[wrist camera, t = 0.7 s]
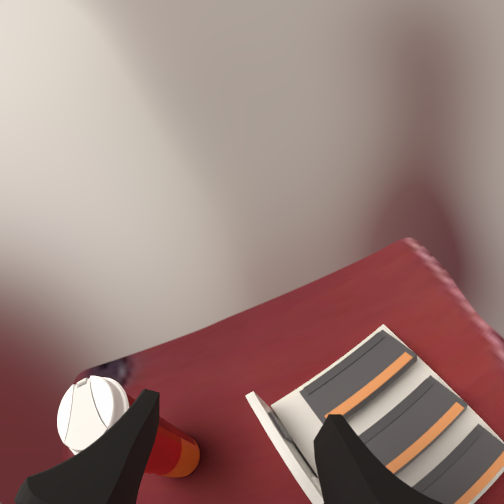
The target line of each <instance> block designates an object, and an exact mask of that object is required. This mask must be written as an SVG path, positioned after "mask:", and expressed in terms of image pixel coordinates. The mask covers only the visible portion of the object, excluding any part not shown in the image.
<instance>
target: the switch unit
mask: <svg viewBox="0 0 504 504" xmlns="http://www.w3.org/2000/svg"><path fill="white" fill-rule="evenodd" d="M381 330H384V331H385V332H387V333H388V334H389V335H391V336H392V337H394V338H395V339H396V340H398V341H399V342H400V343H402V344H403V345H405V344H404V343H403V342H402V341H401V340H400V339H399V338H398V337H397V336H396V335H395V334H394V333H392V332H391V331H390V330H389V329H388V328H387V327H386V326H385V325H384V324H383V325H382V326H381V327H379V328H378V329H377V330H376V331H375V332H373V333H372V334H371V335H370V336H368V337H367V338H366V339H365V340H363V341H362V342H361V343H360V344H358V345H357V346H356V347H355V348H353V349H352V350H351V351H349V352H348V353H347V354H345V355H344V356H343V357H341V358H340V359H339V360H337V361H336V362H335V363H333V364H332V365H331V366H329V367H328V368H326V369H325V370H324V371H322V372H321V373H319V374H318V375H317V376H315V377H314V378H312V379H311V380H309V381H308V382H306V383H305V384H303V385H302V386H300V387H299V388H297V389H296V390H294V391H293V392H291V393H290V394H288V395H287V396H285V397H283V398H282V399H280V400H279V401H277V402H275V403H274V404H272V405H271V407H272V408H273V410H274V411H275V412H274V411H273V410H272V409H271V408H270V407H269V406H268V405H267V404H266V403H265V402H264V401H263V400H262V399H261V398H260V397H259V396H258V395H257V394H256V393H255V392H254V391H253V392H251V393H249V394H248V395H246V398H247V400H248V402H249V403H250V405H251V407H252V409H253V410H254V412H255V414H256V416H257V417H258V419H259V421H260V422H261V424H262V426H263V427H264V429H265V431H266V432H267V434H268V436H269V437H270V439H271V441H272V442H273V444H274V446H275V447H276V449H277V450H278V452H279V454H280V455H281V457H282V458H283V460H284V462H285V463H286V465H287V466H288V468H289V469H290V471H291V472H292V474H293V476H294V477H295V479H296V480H297V482H298V483H299V485H300V486H301V488H302V489H303V491H304V492H305V494H306V495H307V496H308V498H309V499H310V501H311V502H312V504H324V501H323V496H322V491H321V487H320V482H319V478H318V477H317V476H318V473H317V468H316V464H315V457H314V442H313V440H314V439H315V437H316V435H317V434H318V432H319V430H320V429H321V427H322V425H323V424H322V423H321V421H320V420H319V419H318V417H317V416H316V415H315V413H314V412H313V411H312V409H311V408H310V406H309V405H308V404H307V402H306V401H305V400H304V398H303V397H302V395H301V394H300V392H299V391H301V390H302V389H303V388H304V387H306V386H307V385H309V384H310V383H311V382H313V381H314V380H316V379H317V378H319V377H320V376H322V375H323V374H324V373H326V372H327V371H329V370H330V369H331V368H333V367H334V366H335V365H337V364H338V363H340V362H341V361H342V360H344V359H345V358H346V357H347V356H349V355H350V354H351V353H353V352H354V351H355V350H357V349H358V348H359V347H360V346H362V345H363V344H364V343H365V342H367V341H368V340H369V339H370V338H372V337H373V336H374V335H375V334H376V333H378V332H380V331H381ZM405 346H406V345H405ZM406 347H407V346H406ZM407 348H409V347H407ZM409 349H410V348H409ZM410 350H411V349H410ZM411 351H412V350H411ZM430 375H431V376H432V377H433V378H435V379H436V380H437V381H439V382H440V383H441V384H442V385H444V386H445V387H446V388H448V389H449V390H450V391H452V392H453V393H454V394H455V395H457V394H456V393H455V392H454V391H453V390H452V389H451V388H450V387H449V386H448V385H447V384H446V383H445V382H444V381H443V380H442V379H441V378H440V377H439V376H438V375H437V374H436V373H435V372H434V371H433V370H432V369H431V368H430V367H429V366H427V365H426V364H425V363H424V362H423V361H422V360H421V359H420V358H419V357H418V356H417V361H416V362H415V363H414V364H413V365H412V366H411V367H410V368H409V369H408V370H407V371H406V372H405V373H403V374H402V375H401V376H400V377H399V378H398V379H397V380H396V381H394V382H393V383H392V384H391V385H390V386H389V387H387V388H386V389H385V390H384V391H383V392H381V393H380V394H379V395H378V396H376V397H375V398H374V399H373V400H372V401H370V402H369V403H368V404H366V405H365V406H364V407H363V408H361V409H360V410H359V411H357V412H356V413H355V414H353V415H352V416H350V417H349V418H348V419H346V421H347V422H348V424H349V425H350V426H351V428H352V429H353V430H354V431H355V433H356V434H357V435H358V436H359V435H360V434H361V433H363V432H364V431H365V430H367V429H368V428H369V427H371V426H372V425H373V424H375V423H376V422H377V421H378V420H380V419H381V418H382V417H383V416H385V415H386V414H387V413H388V412H390V411H391V410H392V409H393V408H394V407H395V406H397V405H398V404H399V403H400V402H401V401H402V400H404V399H405V398H406V397H407V396H408V395H409V394H410V393H411V392H412V391H413V390H415V389H416V388H417V387H418V386H419V385H420V384H421V383H422V382H423V381H424V380H425V379H426V378H428V377H429V376H430ZM457 396H458V395H457ZM458 397H459V396H458ZM459 398H460V397H459ZM275 413H276V414H275ZM276 415H277V416H278V417H277V416H276ZM278 418H279V419H280V420H279V419H278ZM281 422H282V423H281ZM282 424H283V425H282ZM477 424H480V425H481V426H482V427H483V428H485V429H486V430H487V431H488V432H490V433H491V434H492V435H493V436H495V437H496V438H497V439H498V440H500V441H501V442H502V443H503V444H504V442H503V441H502V440H501V439H500V438H499V437H498V435H497V434H496V433H495V432H494V431H493V430H492V429H491V428H490V427H489V426H488V425H487V424H486V423H485V422H484V421H483V420H482V419H481V418H480V417H479V416H478V415H477V414H476V413H475V412H474V411H473V410H472V409H471V408H470V407H469V406H467V409H466V411H465V412H464V413H463V414H462V415H461V416H460V417H459V418H458V419H457V420H456V421H455V422H454V423H453V425H452V426H451V427H450V428H449V429H448V430H447V431H446V432H445V433H444V434H443V435H442V436H441V437H440V438H438V439H437V440H436V441H435V442H434V443H433V444H432V445H431V446H430V447H429V448H428V449H427V450H426V451H424V452H423V453H422V454H421V455H420V456H419V457H418V458H416V459H415V460H414V461H413V462H412V463H410V464H409V465H408V466H407V467H406V468H404V469H403V470H402V471H401V472H399V473H398V474H397V475H396V476H397V477H398V478H399V479H401V480H402V481H403V482H405V483H406V484H407V485H409V486H410V487H413V486H414V485H415V484H416V483H418V482H419V481H420V480H421V479H422V478H424V477H425V476H426V475H427V474H428V473H429V472H430V471H432V470H433V469H434V468H435V467H436V466H437V465H438V464H439V463H440V462H442V461H443V460H444V459H445V458H446V457H447V456H448V455H449V454H450V453H451V452H452V451H453V450H454V449H455V448H456V447H457V446H458V445H459V444H460V443H461V442H462V441H463V440H464V439H465V437H466V436H467V435H468V434H469V433H470V432H471V431H472V430H473V429H474V428H475V427H476V426H477ZM284 427H285V428H284ZM286 430H287V431H286ZM288 433H289V434H288ZM290 436H291V437H290ZM292 439H293V440H292ZM294 442H295V443H294ZM295 444H296V445H297V446H296V445H295ZM297 447H298V448H299V449H298V448H297ZM299 450H300V451H301V452H300V451H299ZM301 453H302V454H303V455H302V454H301ZM303 456H304V457H305V458H304V457H303ZM305 459H306V460H307V461H306V460H305ZM307 462H308V463H309V464H308V463H307ZM309 465H310V466H311V467H312V468H311V467H310V466H309ZM312 469H313V470H314V471H313V470H312ZM314 472H315V473H316V474H315V473H314ZM503 472H504V466H503V467H502V468H501V470H500V471H499V472H498V473H497V474H496V475H495V476H494V478H493V479H492V480H491V481H490V482H489V483H488V484H487V485H486V486H485V487H484V488H483V489H482V490H481V491H480V492H479V493H478V495H477V496H476V497H475V498H473V499H472V500H471V501H470V502H469V503H468V504H474V503H475V502H476V501H477V500H478V499H479V498H480V497H481V496H482V495H483V494H484V493H485V492H486V491H487V490H488V488H489V487H490V486H491V485H492V484H493V483H494V482H495V481H496V480H497V479H498V477H499V476H500V475H501V474H502V473H503ZM316 475H317V476H316Z"/></svg>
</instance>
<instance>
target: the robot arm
mask: <svg viewBox="0 0 504 504" xmlns="http://www.w3.org/2000/svg"><path fill="white" fill-rule="evenodd" d="M158 425H159V392H155V391H151V390H147V389H144V390H143V391H142V392H141V394H140V395H139V396H138V398H137V399H136V400H135V401H134V403H133V404H132V405H131V406H130V408H129V409H128V410H127V411H126V412H125V413H124V414H123V415H122V416H121V417H120V419H119V420H118V421H117V422H116V423H115V424H114V425H113V426H112V427H111V428H109V429H108V430H107V431H106V432H105V433H104V434H103V435H102V436H101V437H100V438H98V439H97V440H96V441H95V442H93V443H92V444H91V445H89V446H88V447H87V448H85V449H84V450H82V451H81V452H79V453H78V454H76V455H75V456H73V457H71V458H70V459H68V460H66V461H64V462H62V463H60V464H58V465H56V466H54V467H52V468H50V469H48V470H46V471H43V472H41V473H38V474H35V475H32V476H29V477H27V478H26V480H25V481H24V483H23V484H22V485H21V487H20V489H19V491H18V493H17V495H16V497H15V499H14V500H15V503H16V504H136V500H137V495H138V490H139V486H140V483H141V480H142V477H143V474H144V471H145V468H146V465H147V462H148V460H149V457H150V454H151V451H152V448H153V445H154V443H155V439H156V434H157V430H158ZM313 442H314V457H315V464H316V468H317V473H318V478H319V482H320V487H321V491H322V496H323V501H324V504H443V503H441V502H439V501H436V500H434V499H431V498H429V497H427V496H426V495H424V494H422V493H420V492H418V491H417V490H415V489H413V488H412V487H410V486H409V485H407V484H406V483H405V482H403V481H402V480H401V479H399V478H398V477H397V476H396V475H394V474H393V473H392V472H391V471H390V470H389V469H387V468H386V467H385V466H384V465H383V464H382V463H381V462H380V461H379V460H378V459H377V458H376V457H375V456H374V454H373V453H372V452H371V451H370V450H369V449H368V448H367V446H366V445H365V444H364V443H363V442H362V440H361V439H360V438H359V437H358V435H357V434H356V433H355V431H354V430H353V429H352V428H351V426H350V425H349V424H348V422H347V421H346V420H345V418H344V417H343V416H342V415H341V414H329V415H328V416H327V418H326V420H325V422H324V423H323V425H322V427H321V429H320V430H319V432H318V434H317V435H316V437H315V439H314V440H313ZM0 504H1V503H0Z"/></svg>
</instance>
